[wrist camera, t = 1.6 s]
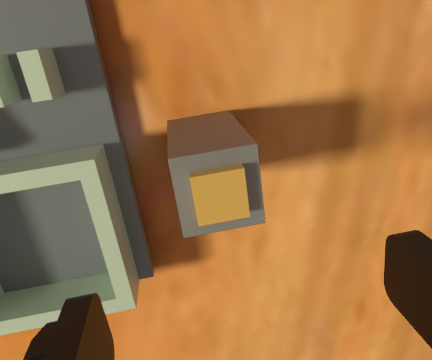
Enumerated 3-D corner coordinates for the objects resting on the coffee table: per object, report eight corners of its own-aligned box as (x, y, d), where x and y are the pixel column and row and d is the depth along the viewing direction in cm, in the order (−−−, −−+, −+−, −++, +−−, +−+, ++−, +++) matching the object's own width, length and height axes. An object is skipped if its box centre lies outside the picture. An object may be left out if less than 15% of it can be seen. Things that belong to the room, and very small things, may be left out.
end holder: (103, 144, 22) (94, 159, 19) (139, 279, 26) (136, 308, 23) (-68, 172, 21) (-104, 193, 19) (-6, 307, 25) (-27, 340, 22)
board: (83, -23, 20) (65, -36, 16) (154, 266, 27) (152, 299, 23) (-149, 9, 19) (-218, 2, 16) (-13, 298, 26) (-40, 337, 23)
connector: (228, 110, 23) (260, 147, 15) (236, 168, 25) (268, 228, 17) (167, 120, 23) (167, 163, 15) (178, 178, 25) (184, 244, 17)
